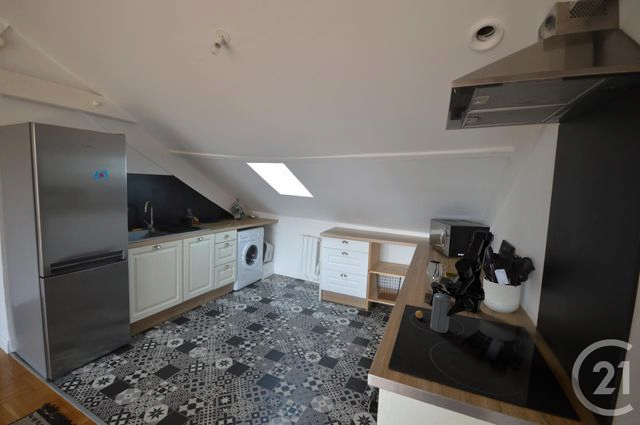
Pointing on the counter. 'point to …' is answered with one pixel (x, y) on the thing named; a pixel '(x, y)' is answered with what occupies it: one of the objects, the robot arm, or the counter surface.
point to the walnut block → (428, 296)
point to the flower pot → (450, 275)
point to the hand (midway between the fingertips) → (438, 310)
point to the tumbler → (440, 312)
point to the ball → (419, 314)
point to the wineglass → (434, 270)
